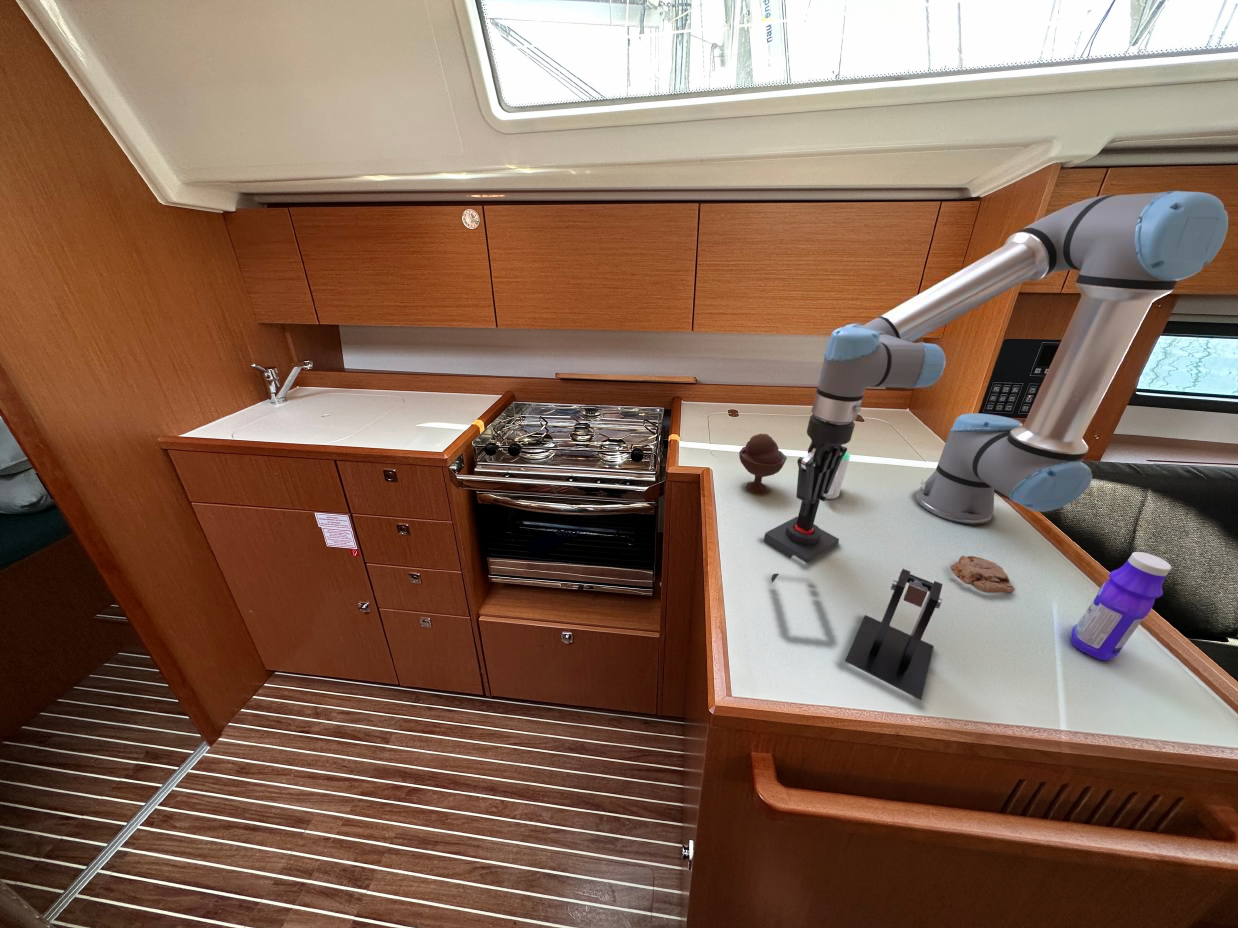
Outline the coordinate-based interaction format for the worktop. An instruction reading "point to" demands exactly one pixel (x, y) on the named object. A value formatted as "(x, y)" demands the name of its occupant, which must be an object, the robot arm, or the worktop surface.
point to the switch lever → (917, 590)
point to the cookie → (982, 574)
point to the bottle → (1120, 606)
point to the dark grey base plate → (799, 541)
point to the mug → (838, 478)
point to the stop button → (803, 530)
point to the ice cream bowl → (761, 460)
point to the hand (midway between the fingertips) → (804, 526)
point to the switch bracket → (896, 644)
